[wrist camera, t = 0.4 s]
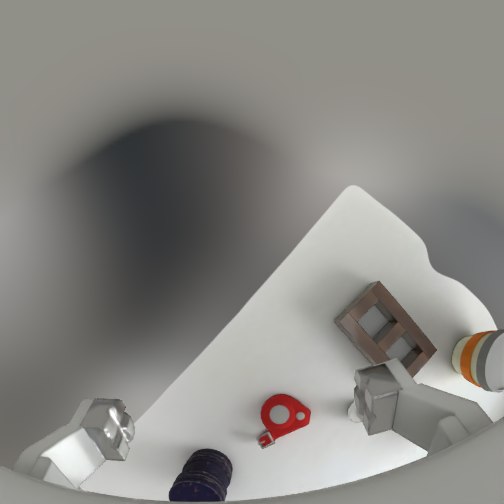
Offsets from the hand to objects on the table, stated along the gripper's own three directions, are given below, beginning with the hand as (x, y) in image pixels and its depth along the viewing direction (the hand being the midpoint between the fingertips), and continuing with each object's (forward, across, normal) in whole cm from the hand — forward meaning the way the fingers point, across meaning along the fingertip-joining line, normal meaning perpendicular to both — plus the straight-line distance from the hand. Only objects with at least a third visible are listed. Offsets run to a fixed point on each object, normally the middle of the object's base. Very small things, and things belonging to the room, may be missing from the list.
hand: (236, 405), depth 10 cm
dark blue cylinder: (+34, -15, -50) cm, 62 cm away
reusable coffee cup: (+38, +45, -38) cm, 70 cm away
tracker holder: (+38, +1, -40) cm, 55 cm away
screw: (+37, +17, -41) cm, 58 cm away
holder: (+43, +24, -28) cm, 57 cm away
